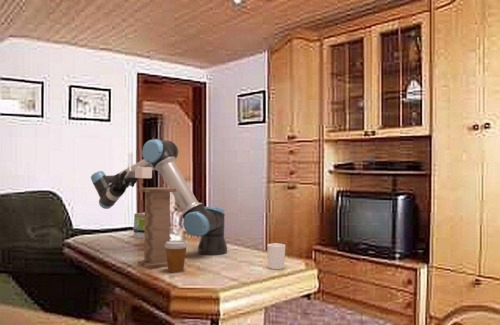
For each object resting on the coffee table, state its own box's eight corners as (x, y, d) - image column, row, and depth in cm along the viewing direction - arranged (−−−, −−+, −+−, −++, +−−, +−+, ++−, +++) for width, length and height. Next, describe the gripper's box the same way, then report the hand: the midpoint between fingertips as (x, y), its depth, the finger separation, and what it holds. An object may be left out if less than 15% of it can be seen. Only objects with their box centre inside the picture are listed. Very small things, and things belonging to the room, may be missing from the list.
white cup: (279, 270, 194) (280, 247, 194) (263, 268, 199) (264, 245, 199) (288, 267, 201) (288, 244, 201) (272, 265, 205) (272, 242, 205)
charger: (122, 176, 224) (122, 166, 224) (132, 176, 227) (132, 166, 227) (142, 178, 209) (142, 167, 209) (151, 178, 212) (152, 167, 212)
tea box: (147, 239, 271) (147, 214, 271) (133, 238, 274) (133, 213, 274) (161, 235, 285) (161, 211, 285) (147, 234, 288) (147, 211, 288)
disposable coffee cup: (188, 272, 189) (189, 243, 189) (165, 274, 186) (165, 244, 186) (185, 267, 198) (185, 239, 198) (163, 268, 195) (163, 240, 195)
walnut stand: (137, 264, 203) (138, 187, 204) (161, 260, 211) (162, 187, 211) (151, 269, 194) (152, 189, 194) (175, 265, 202) (176, 188, 202)
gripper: (133, 196, 239) (152, 175, 224) (101, 197, 228) (119, 175, 213) (129, 183, 242) (148, 162, 227) (98, 184, 231) (116, 161, 215)
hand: (134, 168), depth 220 cm, fingers closed on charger, 4 cm apart
